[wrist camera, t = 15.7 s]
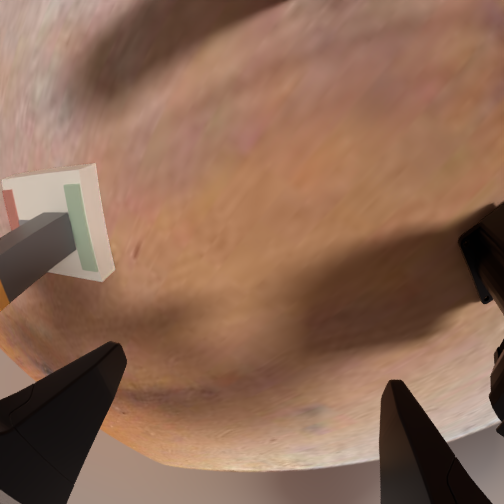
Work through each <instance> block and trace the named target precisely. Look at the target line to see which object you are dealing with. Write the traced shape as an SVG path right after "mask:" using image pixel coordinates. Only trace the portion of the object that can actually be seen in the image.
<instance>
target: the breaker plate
mask: <svg viewBox="0 0 504 504" xmlns="http://www.w3.org/2000/svg"><path fill="white" fill-rule="evenodd" d="M1 181H2V186H3V191H2V192H3V197H4V201H5V206H6V210H7V214H8V218H9V222H10V226H11V230H14V229H16V228H17V227H19V226H21V225H22V224H24V223H26V222H28V221H29V220H31V219H33V218H34V217H36V216H38V215H40V214H42V213H43V212H68V215H69V220H70V225H71V229H72V233H73V237H74V242H75V246H76V250H75V251H74V252H72V253H71V254H70V255H68V256H67V257H66V258H64V259H63V260H62V261H61V262H59V263H58V264H57V265H55V266H54V267H53V268H52V269H50V270H49V271H48V272H50V273H55V274H60V275H66V276H71V277H77V278H82V279H88V280H93V281H99V282H103V281H104V280H105V279H106V278H107V277H108V276H109V275H110V274H111V273H112V272H114V271H115V266H114V262H113V257H112V253H111V249H110V244H109V239H108V234H107V229H106V224H105V219H104V214H103V208H102V202H101V196H100V190H99V183H98V176H97V169H96V163H92V164H82V165H73V166H65V167H57V168H50V169H43V170H36V171H29V172H23V173H17V174H14V175H12V176H9V177H7V178H5V179H2V180H1Z"/></svg>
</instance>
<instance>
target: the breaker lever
mask: <svg viewBox="0 0 504 504" xmlns="http://www.w3.org/2000/svg"><path fill="white" fill-rule="evenodd" d="M75 250H76V246H75V242H74V237H73V233H72V229H71V225H70V220H69V215H68V212H43V213H42V214H40V215H38V216H36V217H34V218H33V219H31V220H29V221H28V222H26V223H24V224H22V225H21V226H19V227H17V228H16V229H14V230H12V231H11V232H9V233H8V234H6V235H4V236H3V237H1V238H0V312H1V311H2V310H3V309H4V308H5V307H6V306H7V305H8V304H10V303H11V302H12V301H13V300H14V299H15V298H16V297H18V296H19V295H20V294H21V293H22V292H23V291H25V290H26V289H27V288H28V287H29V286H31V285H32V284H33V283H34V282H35V281H37V280H38V279H39V278H40V277H42V276H43V275H44V274H45V273H47V272H48V271H49V270H50V269H52V268H53V267H54V266H55V265H57V264H58V263H59V262H61V261H62V260H63V259H64V258H66V257H67V256H68V255H70V254H71V253H72V252H74V251H75Z"/></svg>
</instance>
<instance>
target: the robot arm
mask: <svg viewBox="0 0 504 504" xmlns="http://www.w3.org/2000/svg"><path fill="white" fill-rule="evenodd" d="M466 240H467V243H466V244H464V245H463V243H464V241H466ZM458 244H459V247H460V249H461V251H462V254H463V256H464V259H465V261H466V263H467V266H468V268H469V271H470V273H471V276H472V279H473V281H474V284H475V287H476V289H477V292H478V295H479V298H480V300H481V302H482V303H483V304H487V303H489V302H490V301H492V300H493V299H494V301H495V302H496V304H497V305H498V307H499V308H500V310H501V311H502V313H503V315H504V204H503V205H501V206H500V207H499V208H497V209H496V210H495V211H493V212H492V213H491V214H489V215H488V216H487V217H485V218H484V219H482V220H481V222H480V223H479V224H477V225H476V226H474V227H473V228H472V229H470V230H469V231H467V232H466V233H464V234H463V235H462V236H461V237H460V238H459V240H458ZM486 296H487V297H486ZM485 297H486V298H485ZM126 364H127V359H126V356H125V353H124V351H123V348H122V346H121V344H120V343H117V342H113V341H110V342H107V343H106V344H104V345H102V346H100V347H98V348H97V349H95V350H93V351H91V352H90V353H88V354H86V355H84V356H82V357H81V358H79V359H77V360H75V361H73V362H72V363H70V364H68V365H66V366H64V367H63V368H61V369H59V370H57V371H55V372H54V373H52V374H50V375H48V376H46V377H45V378H43V379H41V380H39V381H37V382H36V383H35V384H32V385H30V386H28V387H26V388H24V389H23V390H21V391H19V392H17V393H15V394H12V395H10V396H8V397H6V398H3V399H1V400H0V504H67V501H68V499H69V496H70V494H71V492H72V489H73V487H74V484H75V482H76V480H77V477H78V475H79V473H80V470H81V468H82V466H83V464H84V461H85V459H86V457H87V455H88V452H89V450H90V448H91V446H92V444H93V442H94V440H95V437H96V435H97V433H98V431H99V429H100V427H101V425H102V423H103V420H104V418H105V416H106V414H107V412H108V410H109V408H110V406H111V404H112V402H113V400H114V397H115V395H116V392H117V389H118V386H119V384H120V381H121V378H122V376H123V373H124V370H125V368H126ZM494 364H495V365H494V368H493V371H492V373H491V376H490V378H491V392H490V394H489V399H490V402H491V405H492V408H493V410H494V411H495V413H496V415H497V416H498V418H499V419H500V420H501V422H502V423H501V424H500V425H499V426H498V427H497V429H496V431H497V433H499V434H500V435H502V436H503V437H504V339H503V341H502V343H501V345H500V347H498V348H497V349H496V351H495V353H494ZM379 454H380V480H381V481H380V482H381V504H492V503H491V502H490V500H489V499H488V498H487V497H486V495H484V493H483V492H482V491H481V490H480V488H479V487H478V486H477V485H476V484H475V482H474V481H473V480H472V479H471V477H470V476H469V475H468V473H467V472H466V470H465V469H464V468H463V466H462V465H461V463H460V462H459V460H458V459H457V457H455V455H454V453H453V452H452V450H451V449H450V447H449V446H448V444H447V443H446V441H445V440H444V438H443V437H442V436H441V434H440V433H439V431H438V430H437V428H436V427H435V425H434V424H433V423H432V421H431V420H430V418H429V417H428V415H427V414H426V413H425V411H424V410H423V408H422V407H421V406H420V404H419V403H418V401H417V400H416V399H415V397H414V396H413V395H412V393H411V392H410V390H409V389H408V388H407V386H406V385H405V384H404V382H403V381H402V380H389V381H388V383H387V385H386V388H385V390H384V392H383V394H382V398H381V413H380V434H379Z"/></svg>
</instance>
